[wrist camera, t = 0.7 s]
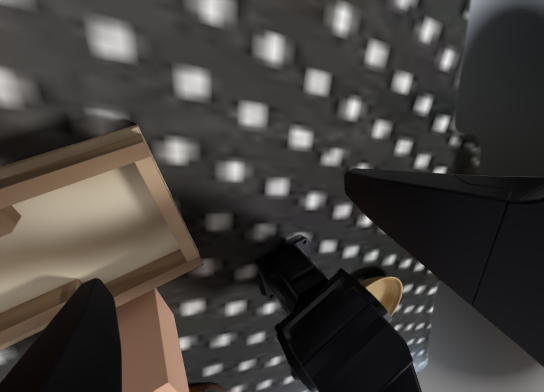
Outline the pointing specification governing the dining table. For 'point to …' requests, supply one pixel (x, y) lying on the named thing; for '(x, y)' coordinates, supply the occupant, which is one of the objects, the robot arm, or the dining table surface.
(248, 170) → the dining table surface
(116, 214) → the beige shallow tray
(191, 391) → the food container
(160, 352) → the peg
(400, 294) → the plant saucer
